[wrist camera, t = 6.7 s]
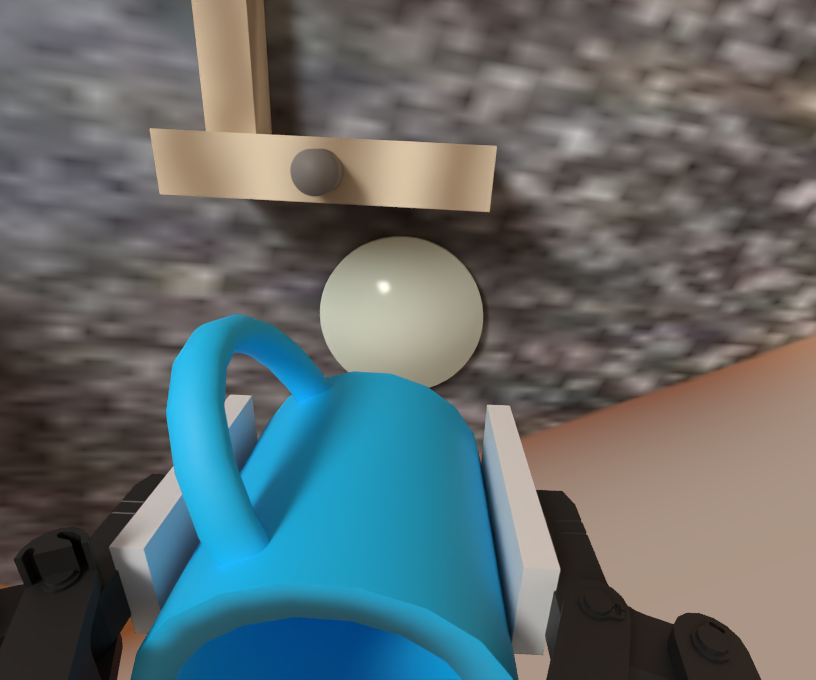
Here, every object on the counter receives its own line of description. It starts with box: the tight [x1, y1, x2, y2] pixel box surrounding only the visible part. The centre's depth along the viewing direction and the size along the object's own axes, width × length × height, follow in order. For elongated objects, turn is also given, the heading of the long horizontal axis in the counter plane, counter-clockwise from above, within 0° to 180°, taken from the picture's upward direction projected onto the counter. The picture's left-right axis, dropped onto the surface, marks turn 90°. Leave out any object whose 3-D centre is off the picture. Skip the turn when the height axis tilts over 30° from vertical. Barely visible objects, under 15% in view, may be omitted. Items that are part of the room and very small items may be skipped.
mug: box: [131, 314, 518, 680], centre depth 13 cm, size 12×8×8 cm
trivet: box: [320, 236, 483, 388], centre depth 34 cm, size 12×12×1 cm
